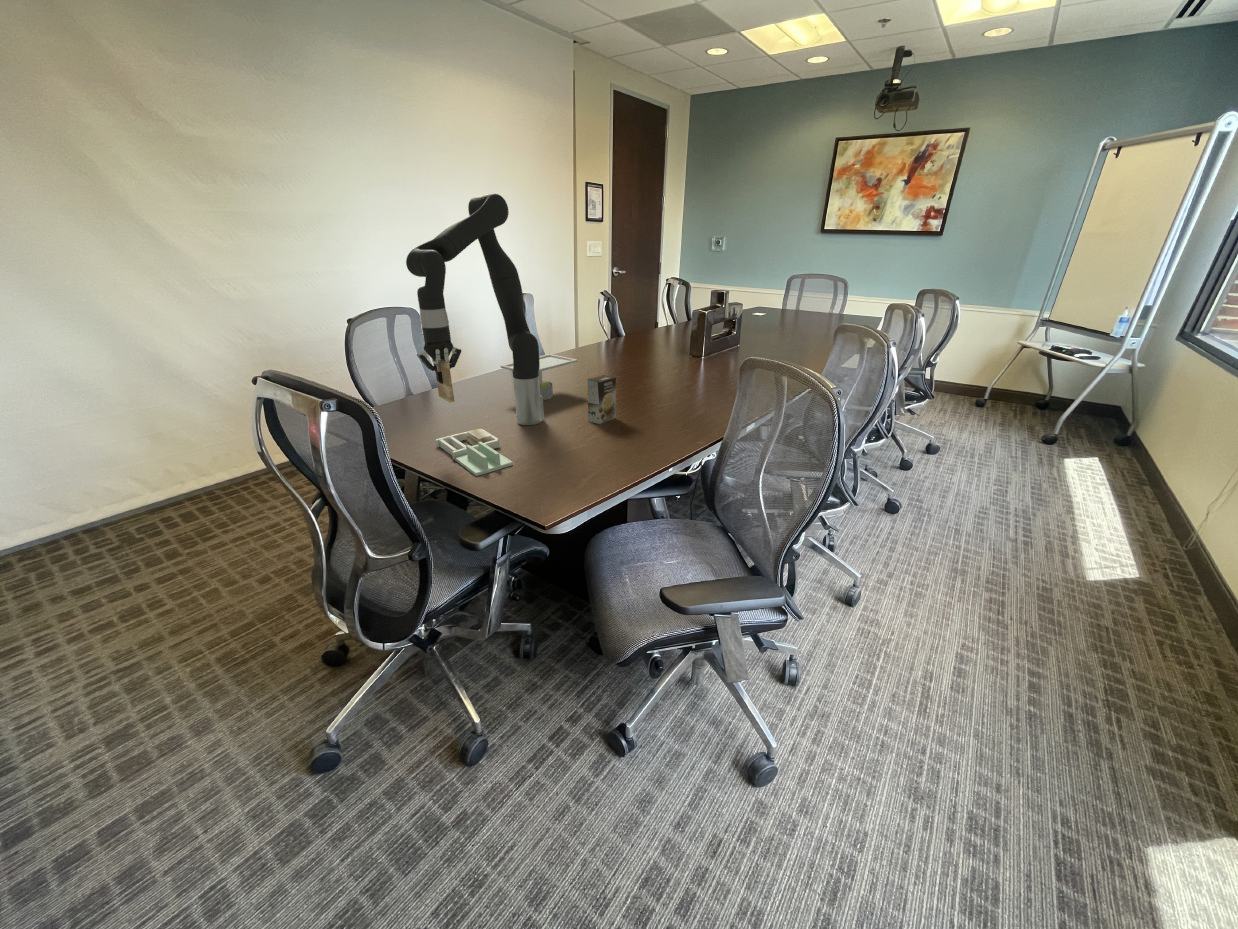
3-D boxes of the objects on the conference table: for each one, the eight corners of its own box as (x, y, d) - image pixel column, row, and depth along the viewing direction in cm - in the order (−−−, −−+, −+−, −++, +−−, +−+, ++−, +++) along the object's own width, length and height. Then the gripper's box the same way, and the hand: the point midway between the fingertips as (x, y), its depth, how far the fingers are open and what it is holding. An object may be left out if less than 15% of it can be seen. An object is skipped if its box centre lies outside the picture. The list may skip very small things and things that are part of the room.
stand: (491, 450, 161) (489, 437, 159) (512, 464, 151) (511, 451, 150) (455, 460, 154) (453, 447, 152) (476, 476, 144) (474, 462, 143)
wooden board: (443, 395, 157) (437, 357, 152) (454, 401, 152) (448, 362, 147) (439, 396, 156) (433, 358, 151) (449, 402, 151) (444, 363, 146)
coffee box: (600, 424, 183) (599, 382, 176) (587, 421, 187) (586, 379, 180) (616, 418, 190) (616, 377, 183) (603, 414, 193) (603, 374, 186)
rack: (481, 434, 174) (480, 428, 173) (500, 446, 164) (500, 439, 163) (436, 446, 164) (435, 439, 163) (454, 459, 155) (453, 452, 154)
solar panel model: (530, 409, 199) (528, 372, 193) (503, 400, 209) (499, 365, 203) (578, 393, 219) (577, 359, 212) (551, 386, 229) (549, 353, 222)
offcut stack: (480, 437, 171) (479, 428, 170) (493, 445, 165) (491, 435, 163) (467, 441, 168) (465, 431, 167) (479, 449, 162) (477, 439, 161)
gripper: (452, 320, 151) (460, 376, 158) (407, 325, 143) (417, 384, 150) (462, 323, 146) (470, 381, 153) (416, 328, 138) (426, 389, 145)
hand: (444, 382), depth 152 cm, fingers closed on wooden board, 1 cm apart
